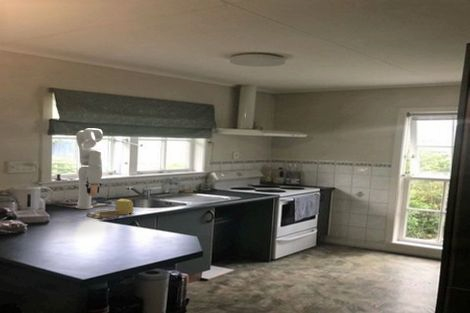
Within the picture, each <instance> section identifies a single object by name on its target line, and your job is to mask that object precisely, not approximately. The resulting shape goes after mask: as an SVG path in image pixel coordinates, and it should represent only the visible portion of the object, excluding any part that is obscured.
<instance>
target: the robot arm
mask: <svg viewBox="0 0 470 313" xmlns="http://www.w3.org/2000/svg"><path fill="white" fill-rule="evenodd" d="M75 136H76V137H75V138H76V143H77V146H78V150H79V163H80V165H81V167H78V168H79V169H78V172H77V174H78V196H77V197H78V200H77V201H76V204H77V205H75V208H76V209H80V210H81V209H83V210H85V209H86V210H89V209H94V206H93V205H92V196H89V195H88V193H89V194H90V189H91V188H90V186H91V184H97V185H98V189H97V194H99V193H100V188H101V186H102V184H103V183H104V180H103V179H102V177H103V164H102V162H103V160H102V152H101V151H100V150H99V149H94V147H95V146H96V145H97V143H99V142H101V141H102V140H103V136H104V133H103V131H102V130H101V129H99V128H85V129H84V130H79V131H78V132H76V135H75ZM92 148H93V149H92Z"/></svg>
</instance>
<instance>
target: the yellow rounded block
mask: <svg viewBox="0 0 470 313" xmlns="http://www.w3.org/2000/svg"><path fill="white" fill-rule="evenodd" d="M115 210H119V215H123V214H129V213H131V214H133V213H134V203H133V201H132V200H131V199H126V198H119V199H118V200H116V201H115ZM132 212H133V213H132ZM129 215H130V214H129Z"/></svg>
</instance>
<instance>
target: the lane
mask: <svg viewBox="0 0 470 313" xmlns="http://www.w3.org/2000/svg"><path fill="white" fill-rule="evenodd" d="M86 216H87V217H89V216H90V217H91V218H93V217H95V218H94V219H97V218H99V220H104V219H103V218H109V219H114V218H113V217H118V218H120V214H119V210H116V209H114V210H110V211H103V212H100V215H98V214H96V212H95V213H94V212H90V211H87V213H86Z"/></svg>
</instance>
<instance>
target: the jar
mask: <svg viewBox="0 0 470 313" xmlns="http://www.w3.org/2000/svg"><path fill="white" fill-rule="evenodd" d="M90 188H91V189H90V194H89V193H88V195H89V196H91V197H96V196H98V193H97V189H98V185H97V184H91V186H90Z"/></svg>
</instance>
